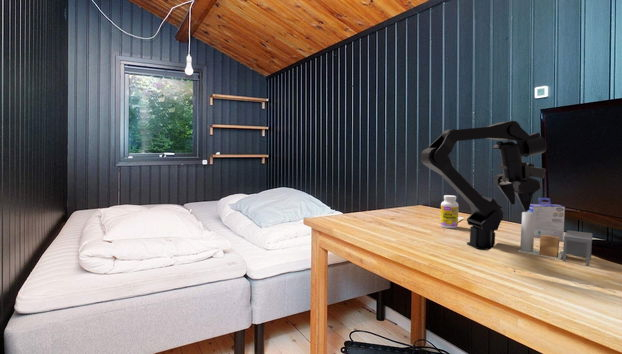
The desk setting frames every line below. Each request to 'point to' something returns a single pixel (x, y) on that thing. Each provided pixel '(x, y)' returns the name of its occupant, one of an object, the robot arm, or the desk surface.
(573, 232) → the tunnel
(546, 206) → the ink cartridge box
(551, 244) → the block
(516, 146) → the robot arm
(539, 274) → the desk surface
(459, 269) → the desk surface
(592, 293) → the desk surface
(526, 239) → the silver l-shaped stand
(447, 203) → the supplement bottle
